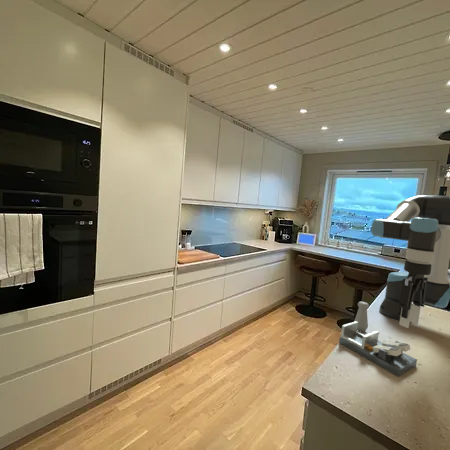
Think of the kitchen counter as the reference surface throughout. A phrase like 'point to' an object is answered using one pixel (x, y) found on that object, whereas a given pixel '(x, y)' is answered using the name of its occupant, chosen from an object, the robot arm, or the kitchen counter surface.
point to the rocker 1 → (388, 350)
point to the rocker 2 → (398, 345)
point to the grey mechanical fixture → (365, 348)
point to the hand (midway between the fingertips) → (408, 324)
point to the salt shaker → (362, 316)
